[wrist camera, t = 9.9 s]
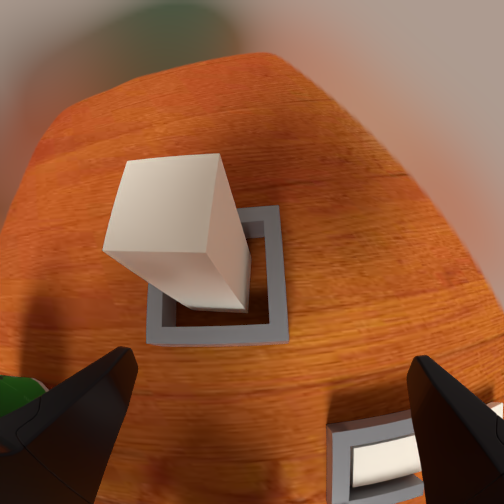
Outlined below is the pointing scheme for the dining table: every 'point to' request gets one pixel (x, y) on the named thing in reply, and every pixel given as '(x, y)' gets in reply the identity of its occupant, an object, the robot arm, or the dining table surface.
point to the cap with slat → (375, 459)
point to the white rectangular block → (182, 231)
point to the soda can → (18, 392)
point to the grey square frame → (167, 334)
